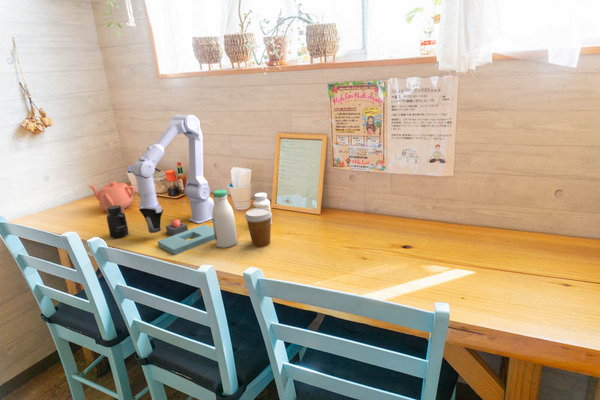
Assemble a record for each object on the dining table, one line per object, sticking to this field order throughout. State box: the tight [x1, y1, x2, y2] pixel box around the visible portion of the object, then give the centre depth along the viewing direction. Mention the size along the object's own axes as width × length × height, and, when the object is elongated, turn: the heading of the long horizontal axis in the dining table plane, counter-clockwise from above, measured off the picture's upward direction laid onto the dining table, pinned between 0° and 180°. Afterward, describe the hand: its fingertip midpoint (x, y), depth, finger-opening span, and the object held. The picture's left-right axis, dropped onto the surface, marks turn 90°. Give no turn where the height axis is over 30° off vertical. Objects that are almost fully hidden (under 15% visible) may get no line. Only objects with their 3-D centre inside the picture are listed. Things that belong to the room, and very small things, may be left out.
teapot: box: [87, 181, 136, 214], centre depth 193 cm, size 16×17×14 cm
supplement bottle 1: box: [106, 205, 129, 239], centre depth 160 cm, size 7×7×12 cm
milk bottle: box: [211, 189, 238, 249], centre depth 144 cm, size 8×8×20 cm
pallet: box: [157, 224, 215, 256], centre depth 152 cm, size 20×12×2 cm, turn 135°
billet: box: [145, 216, 162, 234], centre depth 155 cm, size 4×4×6 cm
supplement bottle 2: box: [252, 192, 273, 225], centre depth 161 cm, size 7×7×13 cm
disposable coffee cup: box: [244, 207, 273, 248], centre depth 144 cm, size 10×10×12 cm
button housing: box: [165, 221, 189, 237], centre depth 160 cm, size 6×6×3 cm
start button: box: [170, 218, 181, 228], centre depth 160 cm, size 3×3×4 cm
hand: (154, 226), depth 155 cm, fingers closed on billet, 4 cm apart
